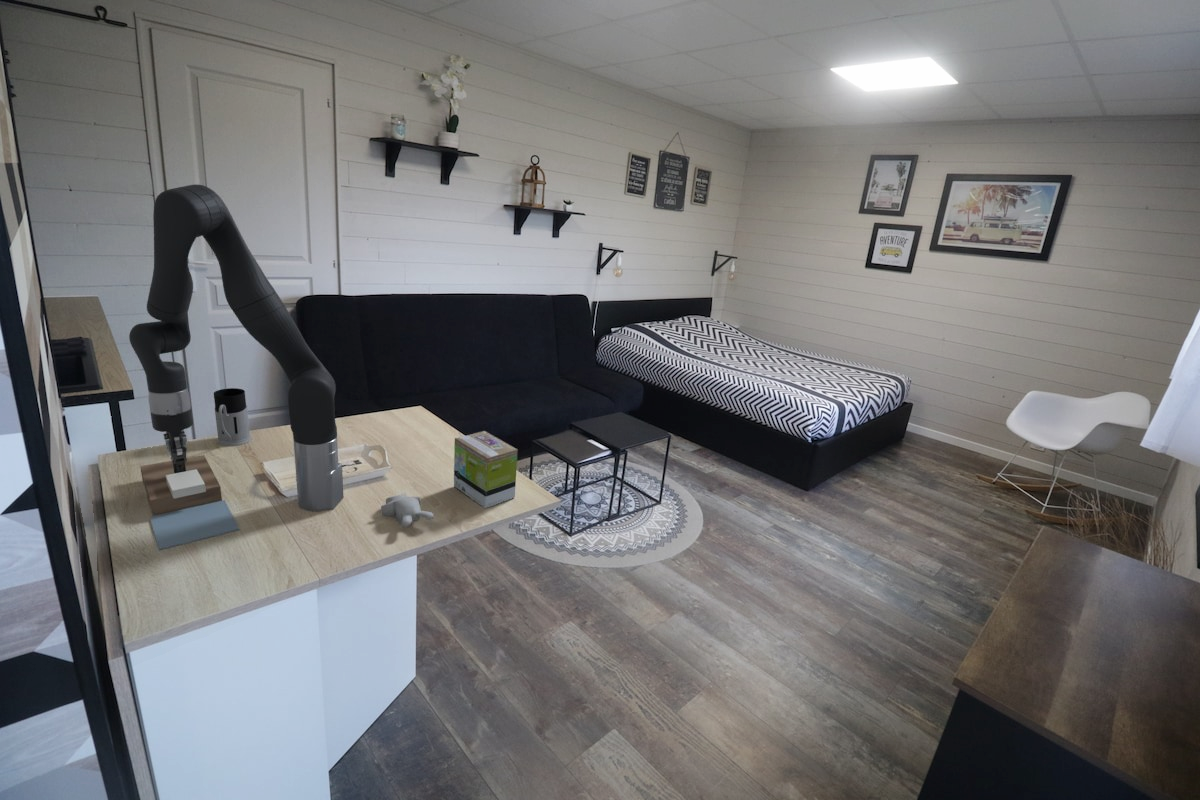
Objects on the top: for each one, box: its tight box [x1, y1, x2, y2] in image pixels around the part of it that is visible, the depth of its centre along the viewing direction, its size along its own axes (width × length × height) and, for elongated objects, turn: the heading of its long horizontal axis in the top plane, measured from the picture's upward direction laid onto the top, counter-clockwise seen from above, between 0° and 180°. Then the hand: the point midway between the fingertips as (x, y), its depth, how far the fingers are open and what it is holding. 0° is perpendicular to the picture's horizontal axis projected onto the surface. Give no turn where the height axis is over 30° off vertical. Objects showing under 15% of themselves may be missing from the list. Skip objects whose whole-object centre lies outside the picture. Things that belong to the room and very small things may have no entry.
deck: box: [140, 455, 223, 516], centre depth 134 cm, size 20×13×4 cm, turn 43°
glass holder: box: [213, 387, 253, 447], centre depth 158 cm, size 9×14×15 cm, turn 18°
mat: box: [149, 499, 240, 551], centre depth 122 cm, size 15×14×1 cm
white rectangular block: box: [166, 469, 206, 499], centre depth 128 cm, size 9×6×2 cm, turn 44°
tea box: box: [453, 430, 519, 509], centre depth 147 cm, size 15×10×15 cm
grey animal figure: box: [380, 493, 435, 528], centre depth 132 cm, size 10×5×15 cm
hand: (180, 475), depth 133 cm, fingers closed
